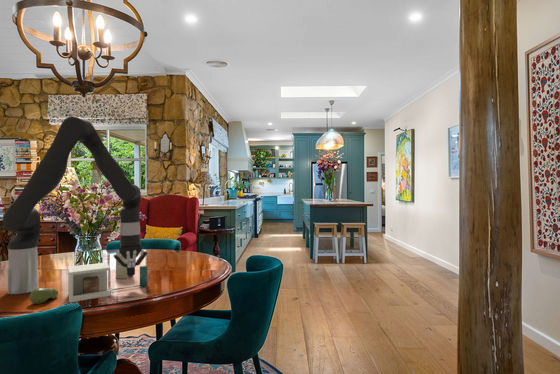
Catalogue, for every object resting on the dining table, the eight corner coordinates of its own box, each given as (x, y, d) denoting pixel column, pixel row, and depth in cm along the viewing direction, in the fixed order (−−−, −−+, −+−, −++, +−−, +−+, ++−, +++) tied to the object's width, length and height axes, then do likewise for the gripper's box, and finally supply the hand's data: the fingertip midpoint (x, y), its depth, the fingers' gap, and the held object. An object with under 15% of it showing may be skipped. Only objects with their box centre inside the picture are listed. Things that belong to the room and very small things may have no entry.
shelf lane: (69, 302, 122) (69, 272, 122) (68, 294, 131) (68, 266, 131) (110, 295, 129) (110, 267, 129) (106, 288, 138) (106, 262, 138)
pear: (26, 289, 119) (49, 285, 129) (24, 304, 119) (47, 300, 128) (40, 289, 119) (62, 286, 128) (38, 305, 118) (61, 300, 127)
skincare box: (115, 278, 154) (115, 251, 154) (120, 275, 158) (120, 249, 158) (128, 278, 153) (128, 251, 153) (133, 276, 158) (133, 249, 158)
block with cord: (83, 297, 127) (83, 275, 127) (83, 293, 131) (82, 272, 131) (148, 286, 139) (148, 267, 139) (146, 283, 143) (146, 264, 143)
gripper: (113, 235, 131) (114, 281, 131) (149, 232, 138) (150, 275, 138) (110, 233, 137) (111, 277, 137) (145, 231, 144) (146, 272, 144)
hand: (131, 276), depth 138 cm, fingers closed
